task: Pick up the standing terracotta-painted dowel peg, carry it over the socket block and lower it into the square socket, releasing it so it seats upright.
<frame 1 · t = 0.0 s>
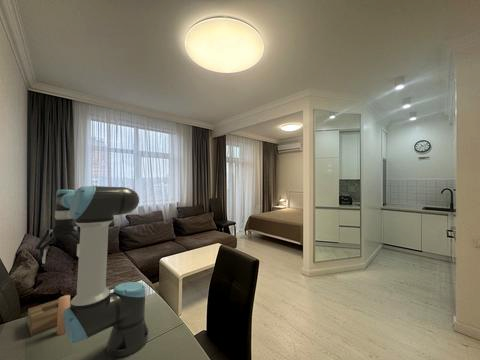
hand: (61, 259, 103), 28 cm above the table, fingers open, 13 cm apart
ink box: (97, 322, 95), on the table
socket block: (50, 322, 95), on the table
peg: (62, 331, 88), on the table
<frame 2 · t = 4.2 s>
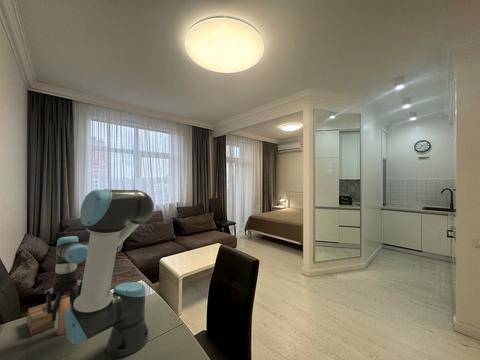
hand: (63, 324, 88), 3 cm above the table, fingers closed on peg, 4 cm apart
peg: (62, 331, 88), on the table, touching gripper
everything else where it was.
when the fingers open (9 cm above the table, at t = 7.4 s): peg drops 4 cm, resting on socket block.
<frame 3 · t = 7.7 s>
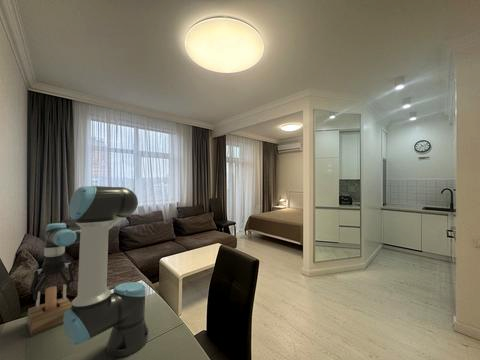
hand: (51, 301, 96), 9 cm above the table, fingers open, 9 cm apart
peg: (50, 319, 95), point 1 cm above the table, touching socket block
everything else where it was.
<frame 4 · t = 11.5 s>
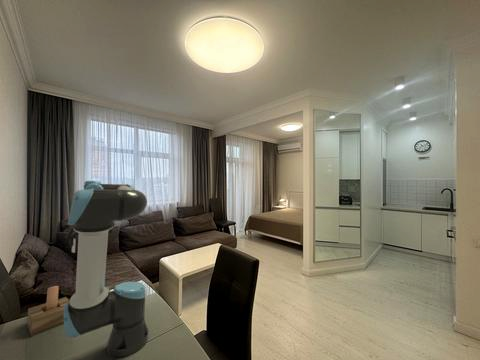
hand: (89, 249, 105), 33 cm above the table, fingers open, 13 cm apart
nothing on the table moved.
at the end: peg 0.2 cm off-centre on the socket block, point 1.0 cm above the socket block's base; peg tilted 0°; the gripper is holding nothing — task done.
